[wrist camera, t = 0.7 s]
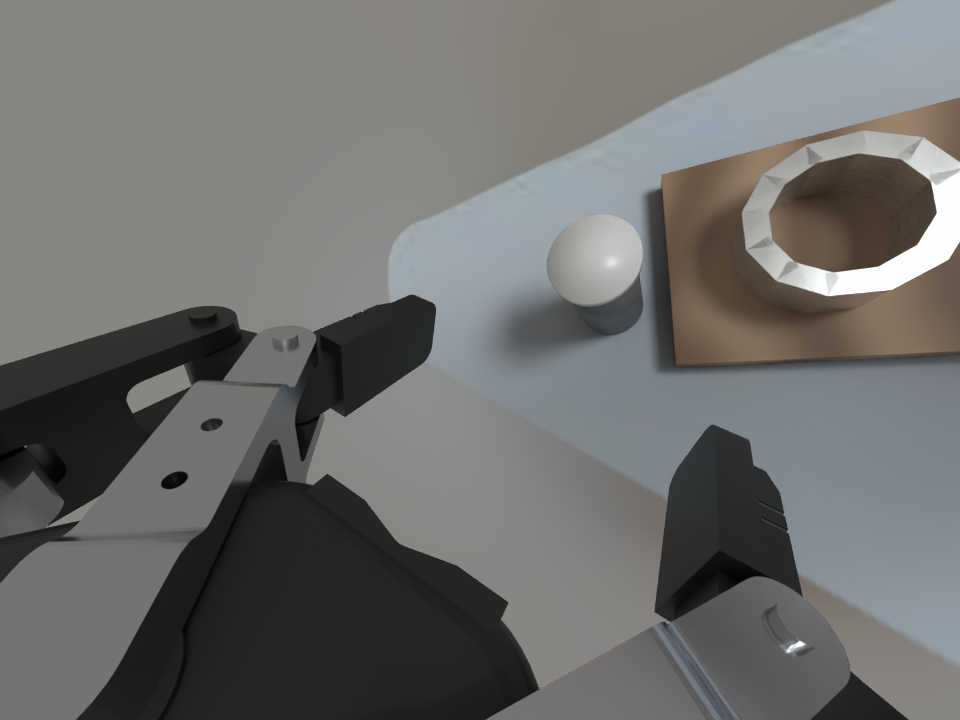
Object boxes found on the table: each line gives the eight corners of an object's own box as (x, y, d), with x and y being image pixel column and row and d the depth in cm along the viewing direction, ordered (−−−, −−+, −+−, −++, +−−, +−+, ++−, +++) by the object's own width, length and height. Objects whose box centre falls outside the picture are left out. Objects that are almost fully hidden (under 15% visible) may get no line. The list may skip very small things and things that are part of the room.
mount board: (976, 109, 20) (998, 87, 19) (1032, 351, 18) (1062, 346, 17) (661, 186, 27) (661, 174, 26) (675, 367, 25) (676, 364, 24)
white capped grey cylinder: (645, 270, 27) (639, 204, 19) (649, 334, 26) (645, 296, 18) (578, 281, 29) (545, 226, 21) (580, 340, 28) (547, 308, 20)
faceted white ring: (908, 155, 20) (953, 107, 17) (936, 301, 19) (991, 278, 16) (726, 195, 24) (736, 162, 21) (739, 319, 23) (752, 304, 20)
